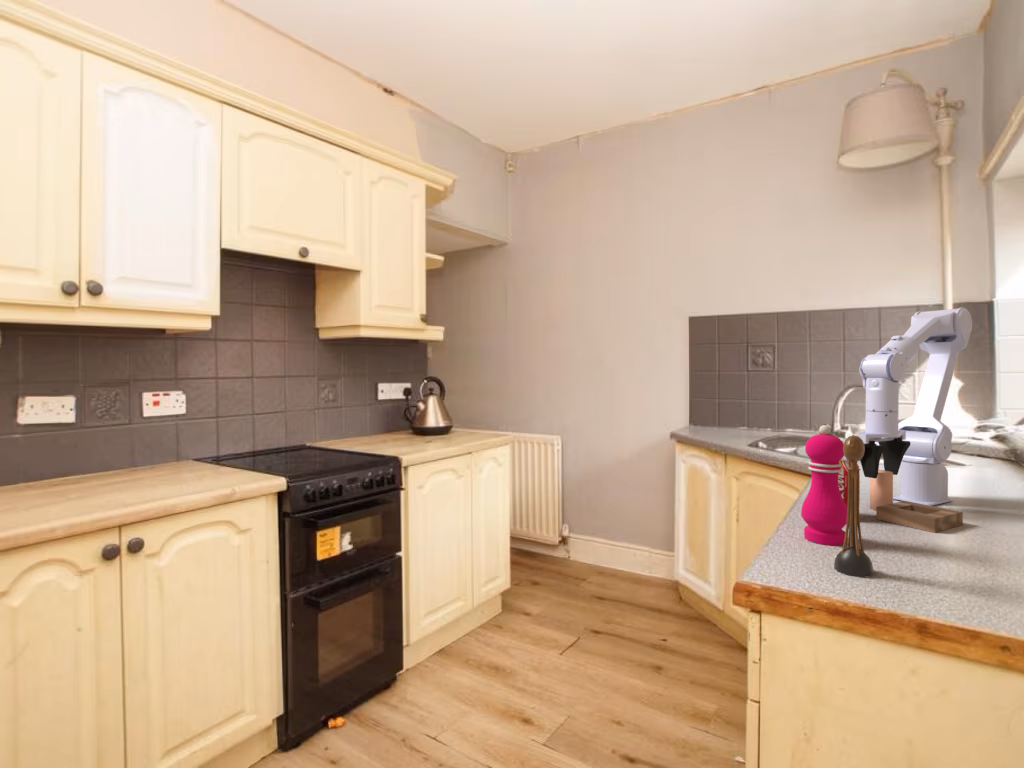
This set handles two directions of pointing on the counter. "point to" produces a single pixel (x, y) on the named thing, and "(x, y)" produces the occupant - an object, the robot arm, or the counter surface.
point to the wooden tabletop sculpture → (853, 517)
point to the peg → (881, 489)
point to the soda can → (845, 479)
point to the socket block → (920, 516)
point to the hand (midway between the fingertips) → (881, 475)
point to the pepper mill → (824, 490)
